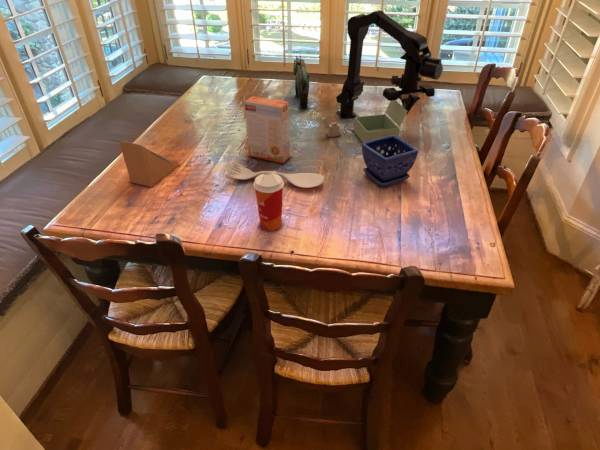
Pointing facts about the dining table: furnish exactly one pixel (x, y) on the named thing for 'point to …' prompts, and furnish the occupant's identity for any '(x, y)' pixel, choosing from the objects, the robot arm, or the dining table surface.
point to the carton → (374, 127)
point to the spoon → (296, 179)
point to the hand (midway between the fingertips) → (405, 114)
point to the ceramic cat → (301, 82)
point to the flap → (396, 112)
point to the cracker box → (268, 129)
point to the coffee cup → (269, 200)
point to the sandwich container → (144, 164)
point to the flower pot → (388, 160)
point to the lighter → (331, 128)
